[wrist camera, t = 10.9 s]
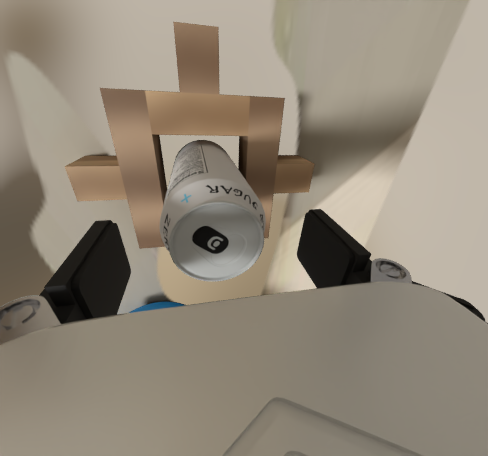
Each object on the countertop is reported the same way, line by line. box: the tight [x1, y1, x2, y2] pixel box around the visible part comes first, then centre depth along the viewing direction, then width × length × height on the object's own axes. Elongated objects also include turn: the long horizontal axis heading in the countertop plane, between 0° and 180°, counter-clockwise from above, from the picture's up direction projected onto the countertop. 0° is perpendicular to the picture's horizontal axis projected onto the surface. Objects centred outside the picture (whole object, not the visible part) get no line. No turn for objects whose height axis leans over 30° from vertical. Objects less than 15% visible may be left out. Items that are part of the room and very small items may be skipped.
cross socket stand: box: [65, 22, 314, 248], centre depth 22 cm, size 22×22×4 cm
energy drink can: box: [159, 140, 266, 281], centre depth 17 cm, size 6×6×15 cm
